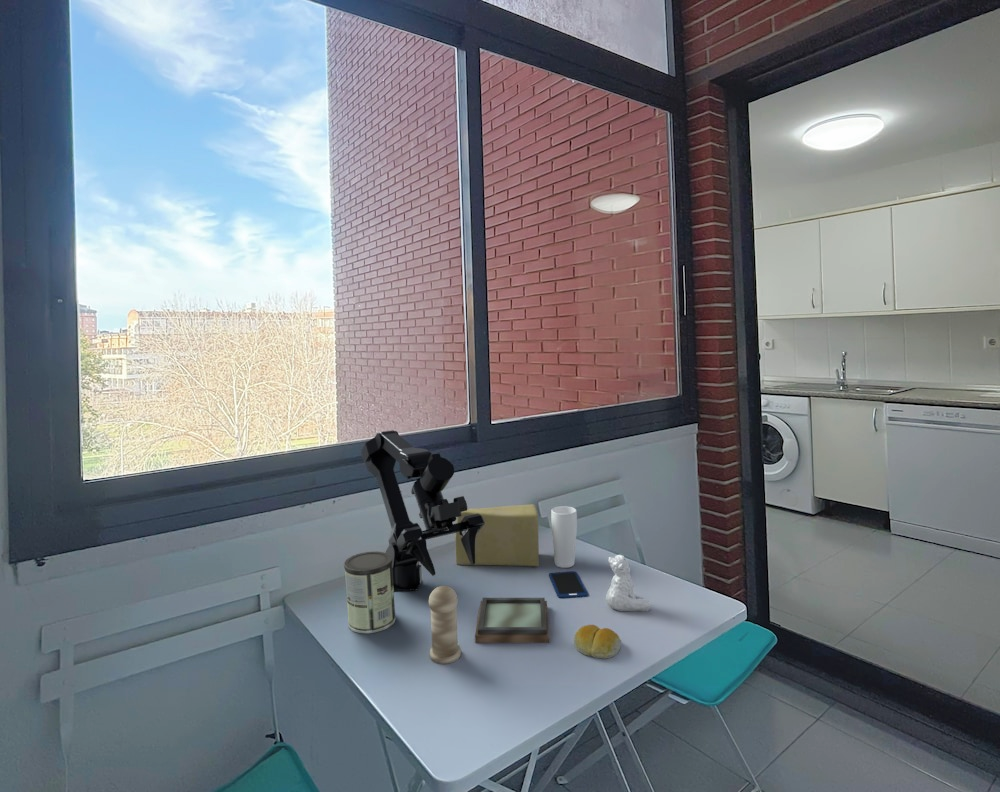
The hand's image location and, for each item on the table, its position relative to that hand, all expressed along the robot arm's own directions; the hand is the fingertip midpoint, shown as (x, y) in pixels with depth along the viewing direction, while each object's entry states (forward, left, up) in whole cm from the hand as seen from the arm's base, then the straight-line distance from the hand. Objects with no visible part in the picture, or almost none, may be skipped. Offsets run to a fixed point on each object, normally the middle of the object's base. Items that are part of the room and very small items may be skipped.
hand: (454, 569), depth 123 cm
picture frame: (+12, +3, -14) cm, 18 cm away
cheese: (+7, +36, -14) cm, 39 cm away
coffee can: (-19, +4, -14) cm, 24 cm away
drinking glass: (+25, +34, -14) cm, 45 cm away
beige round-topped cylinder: (-1, -9, -14) cm, 16 cm away
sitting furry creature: (+37, +11, -14) cm, 41 cm away
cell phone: (+25, +22, -14) cm, 36 cm away
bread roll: (+29, -6, -14) cm, 33 cm away
